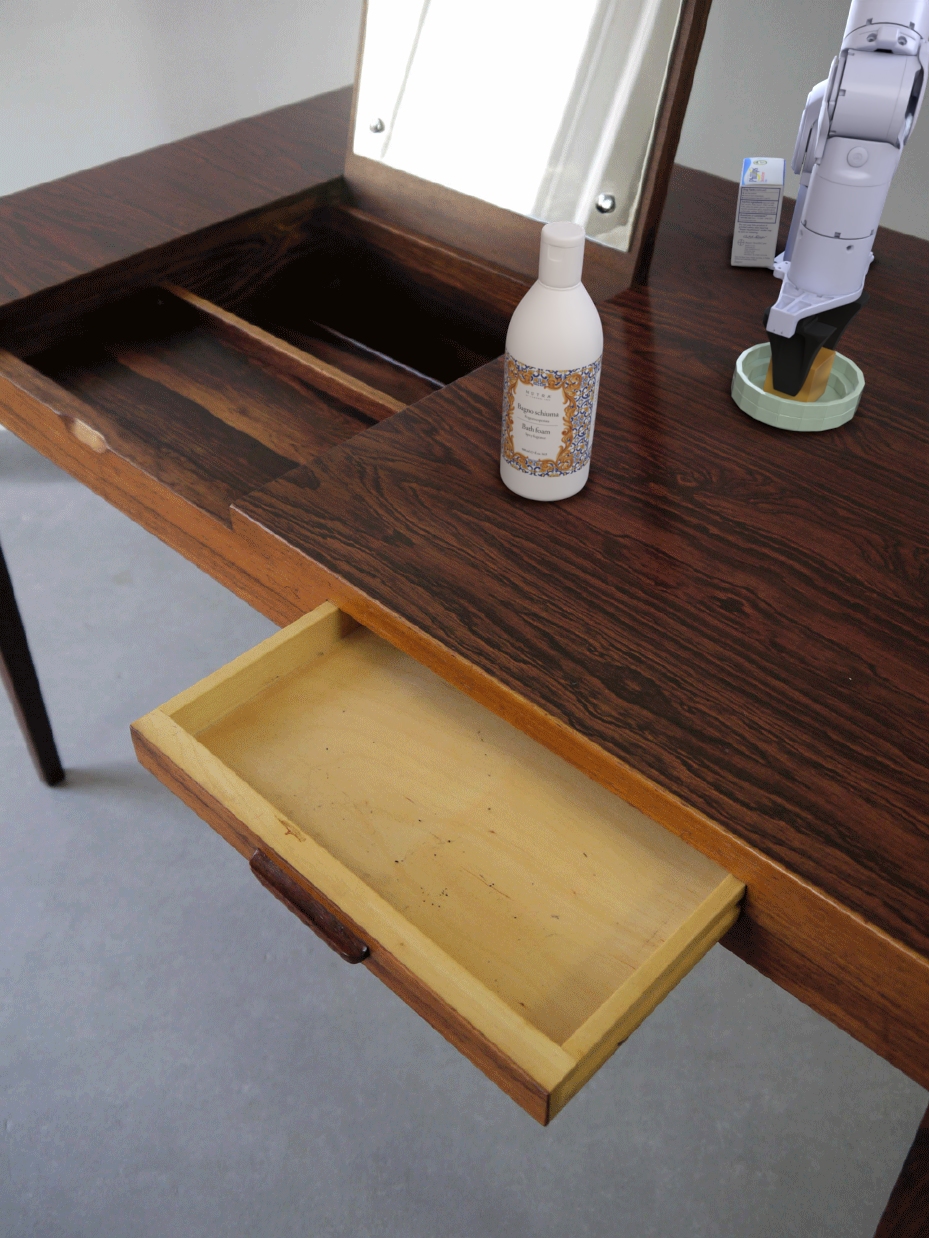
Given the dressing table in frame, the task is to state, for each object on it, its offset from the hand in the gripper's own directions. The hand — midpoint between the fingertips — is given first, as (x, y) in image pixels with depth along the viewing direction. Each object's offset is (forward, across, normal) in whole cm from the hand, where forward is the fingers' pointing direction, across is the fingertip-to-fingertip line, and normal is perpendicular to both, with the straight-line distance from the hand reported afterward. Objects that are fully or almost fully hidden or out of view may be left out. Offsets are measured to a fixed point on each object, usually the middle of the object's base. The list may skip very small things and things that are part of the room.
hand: (797, 380), depth 90 cm
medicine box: (+2, -25, -17) cm, 30 cm away
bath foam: (+2, +23, -10) cm, 25 cm away
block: (+1, 0, 0) cm, 1 cm away
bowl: (+2, 0, 0) cm, 2 cm away
